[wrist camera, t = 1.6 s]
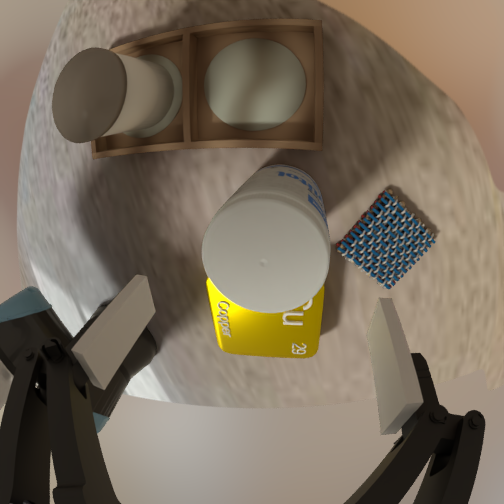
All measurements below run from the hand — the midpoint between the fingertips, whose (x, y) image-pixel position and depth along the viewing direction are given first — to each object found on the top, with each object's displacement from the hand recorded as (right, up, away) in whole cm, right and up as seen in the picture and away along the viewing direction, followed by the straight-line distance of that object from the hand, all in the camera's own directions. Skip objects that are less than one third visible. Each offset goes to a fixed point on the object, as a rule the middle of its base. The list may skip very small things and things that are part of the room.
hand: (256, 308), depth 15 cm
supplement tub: (+3, +9, +17) cm, 20 cm away
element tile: (+2, -4, +25) cm, 25 cm away
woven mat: (+17, +5, +18) cm, 25 cm away
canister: (-14, +22, +13) cm, 29 cm away
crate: (-7, +22, +12) cm, 26 cm away
